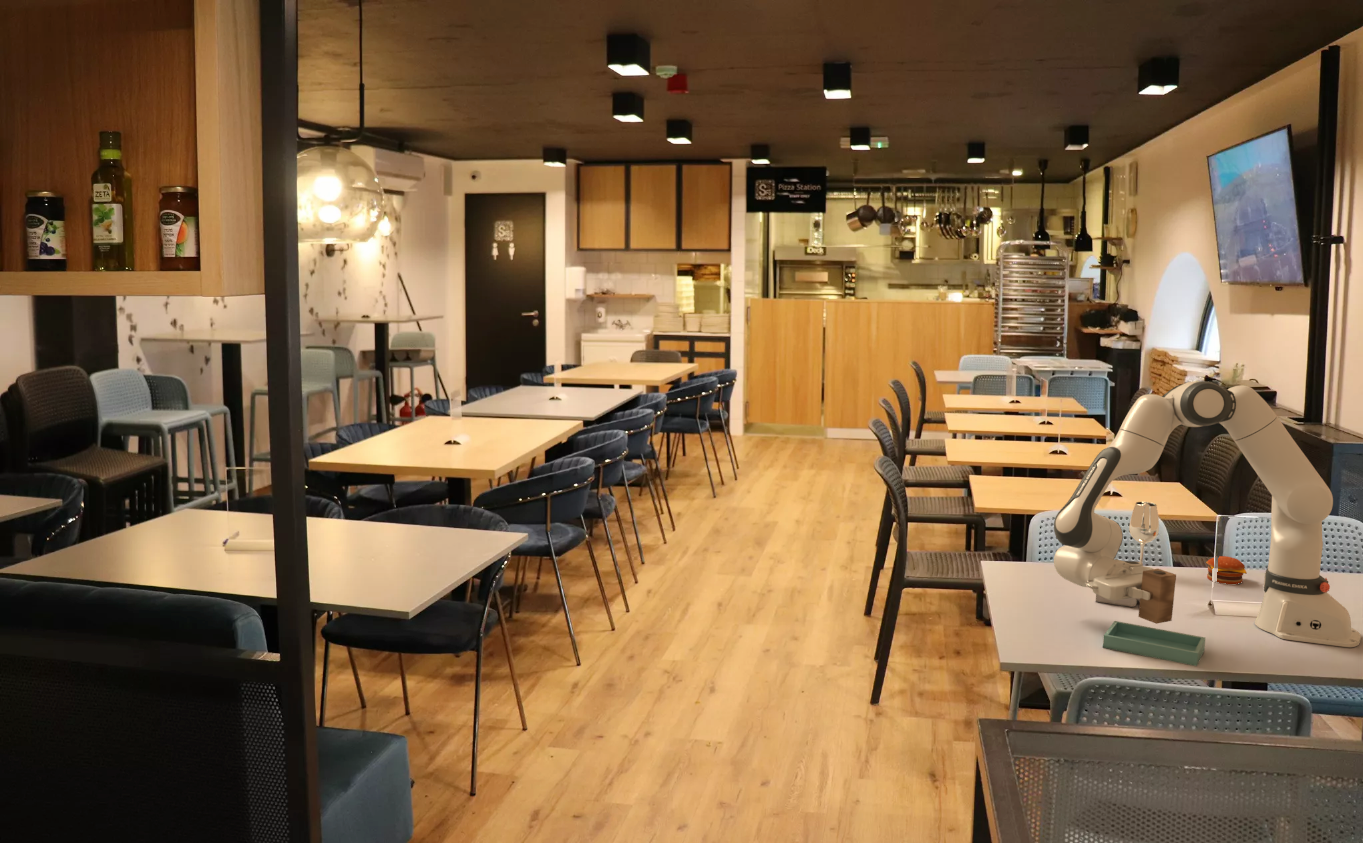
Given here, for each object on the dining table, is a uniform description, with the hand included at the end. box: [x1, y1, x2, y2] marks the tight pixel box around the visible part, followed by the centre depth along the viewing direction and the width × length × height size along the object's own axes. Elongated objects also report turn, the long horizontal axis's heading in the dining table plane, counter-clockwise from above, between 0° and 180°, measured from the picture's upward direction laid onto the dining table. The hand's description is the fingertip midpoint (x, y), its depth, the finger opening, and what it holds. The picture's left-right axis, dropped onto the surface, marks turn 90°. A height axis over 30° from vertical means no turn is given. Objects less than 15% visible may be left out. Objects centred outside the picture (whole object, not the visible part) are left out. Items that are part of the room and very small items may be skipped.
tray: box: [1102, 620, 1206, 667], centre depth 259 cm, size 20×12×3 cm, turn 58°
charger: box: [1095, 594, 1140, 608], centre depth 292 cm, size 5×9×15 cm
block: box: [1137, 568, 1177, 625], centre depth 257 cm, size 5×5×11 cm
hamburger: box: [1205, 555, 1248, 585], centre depth 313 cm, size 9×10×7 cm
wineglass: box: [1128, 501, 1160, 564], centre depth 318 cm, size 8×8×20 cm
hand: (1160, 594), depth 256 cm, fingers closed on block, 5 cm apart
